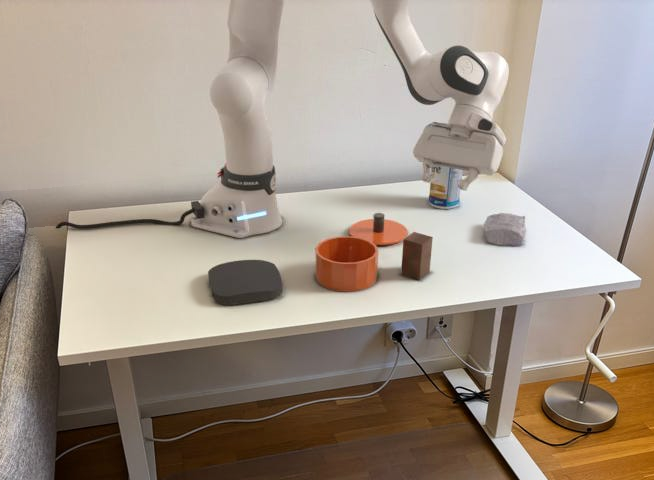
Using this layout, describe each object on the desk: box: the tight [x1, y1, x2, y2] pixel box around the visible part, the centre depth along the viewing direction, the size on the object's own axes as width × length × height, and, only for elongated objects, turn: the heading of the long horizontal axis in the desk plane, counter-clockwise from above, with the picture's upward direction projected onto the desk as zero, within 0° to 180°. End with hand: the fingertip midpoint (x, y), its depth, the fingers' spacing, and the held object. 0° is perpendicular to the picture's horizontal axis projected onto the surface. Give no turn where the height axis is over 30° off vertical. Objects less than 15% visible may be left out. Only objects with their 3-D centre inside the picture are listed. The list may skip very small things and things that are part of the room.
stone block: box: [482, 212, 526, 247], centre depth 173 cm, size 12×5×10 cm
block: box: [400, 231, 434, 281], centre depth 155 cm, size 5×5×8 cm
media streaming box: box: [207, 259, 284, 306], centre depth 151 cm, size 15×15×3 cm
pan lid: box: [348, 212, 408, 246], centre depth 172 cm, size 14×14×5 cm
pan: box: [314, 235, 379, 293], centre depth 154 cm, size 13×13×6 cm
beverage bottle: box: [427, 164, 464, 210], centre depth 184 cm, size 8×8×20 cm
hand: (443, 185), depth 157 cm, fingers open, 8 cm apart
